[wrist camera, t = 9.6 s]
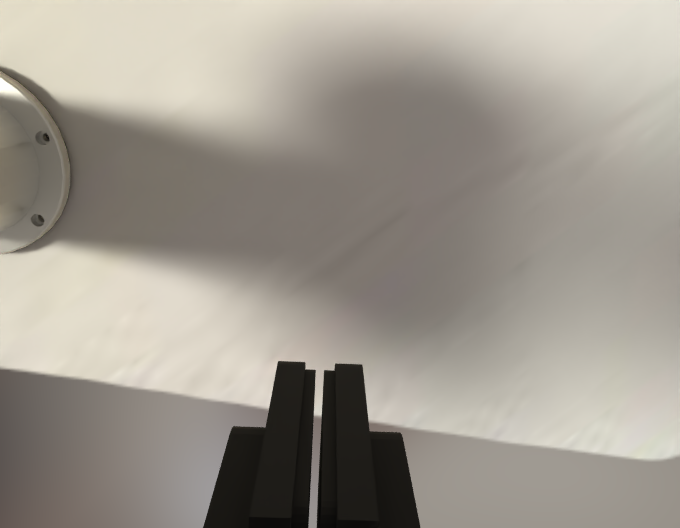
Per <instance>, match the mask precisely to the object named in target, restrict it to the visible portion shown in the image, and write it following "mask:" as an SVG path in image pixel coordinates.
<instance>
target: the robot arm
mask: <svg viewBox="0 0 680 528" xmlns="http://www.w3.org/2000/svg"><path fill="white" fill-rule="evenodd" d="M46 134H47V135H48V136H49V139H50V141H49V140H48V139H47V138H46ZM69 188H70V163H69V158H68V154H67V149H66V146H65V143H64V141H63V138H62V136H61V133H60V131H59V129H58V127H57V125H56V124H55V122H54V120H53V119H52V117H51V116H50V114H49V112H48V111H47V110H46V109H45V107H44V106H43V105H42V104H41V103H40V102H39V100H38V99H37V98H36V97H35V96H34V95H33V94H32V93H31V92H30V91H28V90H27V89H26V88H25V87H24V86H22V85H21V84H20V83H19V82H18V81H16V80H14V79H13V78H11V77H9V76H8V75H6V74H4V73H3V72H1V71H0V254H5V253H10V252H13V251H16V250H18V249H21V248H23V247H25V246H28V245H29V244H31V243H33V242H34V241H36V240H38V239H40V238H41V237H42V236H43V235H44V234H45V233H47V232H48V231H49V230H50V229H51V228H52V227H53V226H54V224H55V223H56V221H57V220H58V219H59V217H60V216H61V214H62V212H63V209H64V207H65V204H66V202H67V199H68V194H69ZM41 216H42V217H43V218H44V220H43V219H42V217H41ZM315 373H316V370H305V362H286V361H278V365H277V370H276V375H275V381H274V386H273V391H272V397H271V402H270V407H269V413H268V418H267V423H266V428H263V427H237V426H236V427H235V426H234V427H233V428H232V430H231V433H230V435H229V439H228V442H227V446H226V449H225V453H224V456H223V460H222V464H221V467H220V471H219V474H218V478H217V481H216V485H215V488H214V492H213V495H212V499H211V502H210V506H209V509H208V513H207V516H206V520H205V523H204V527H203V528H308V521H309V503H310V482H311V460H312V439H313V417H314V395H315ZM319 463H320V464H319V483H318V509H317V528H420V523H419V518H418V513H417V508H416V503H415V498H414V493H413V487H412V482H411V477H410V473H409V467H408V463H407V457H406V452H405V447H404V442H403V437H402V434H401V433H397V432H395V433H394V432H370V431H369V423H368V413H367V404H366V394H365V385H364V375H363V366H362V365H358V364H335V371H328V370H324V385H323V405H322V424H321V443H320V462H319Z"/></svg>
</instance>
